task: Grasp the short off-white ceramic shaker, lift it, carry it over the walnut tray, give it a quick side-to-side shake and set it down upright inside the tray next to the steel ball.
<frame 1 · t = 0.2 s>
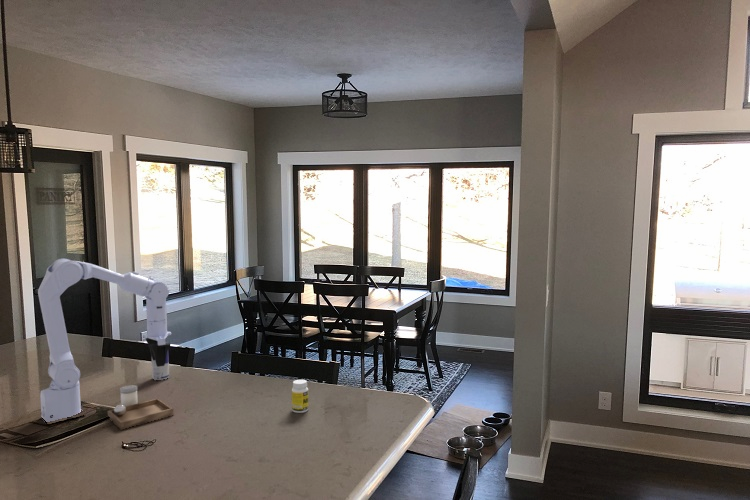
hand: (158, 362, 167), 10 cm above the kitchen island, tool pointing down, fingers open, 7 cm apart
tray: (140, 416, 151), on the kitchen island
shaker: (129, 407, 157), on the kitchen island
energy drink: (161, 378, 183), on the kitchen island
steel ball: (119, 410, 150), point 2 cm above the kitchen island, touching tray
supplement bottle: (300, 410, 155), on the kitchen island
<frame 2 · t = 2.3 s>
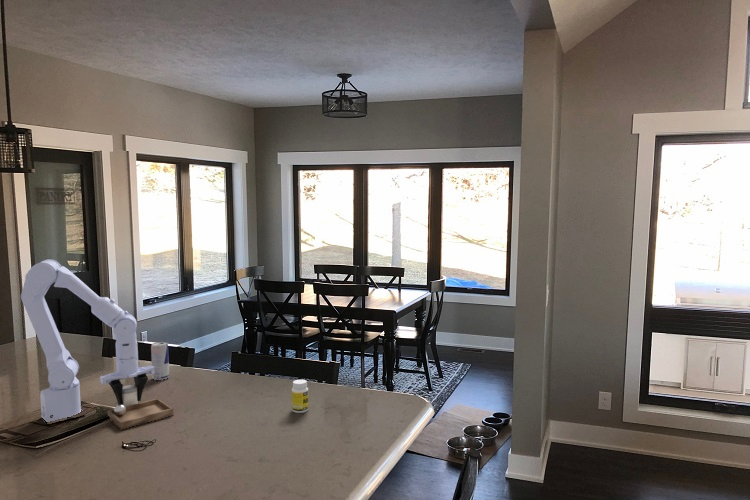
hand: (129, 402, 157), 2 cm above the kitchen island, tool pointing down, fingers closed on shaker, 4 cm apart
shaker: (129, 407, 157), on the kitchen island, touching gripper
everything else where it was.
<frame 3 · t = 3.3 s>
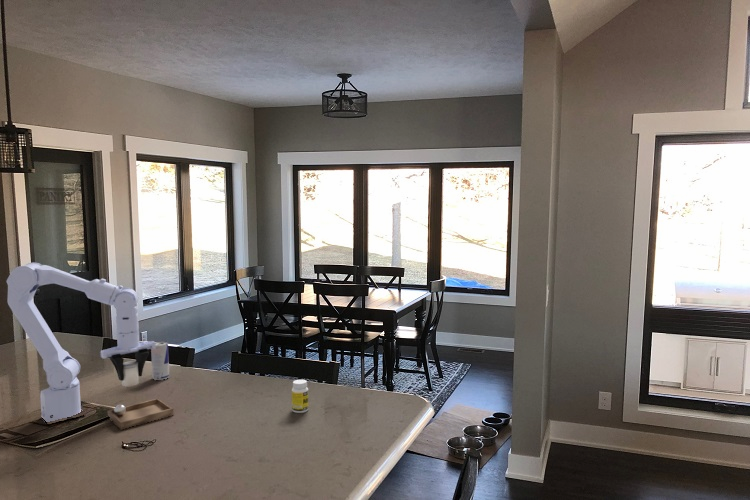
hand: (130, 377, 155), 9 cm above the kitchen island, tool pointing down, fingers closed on shaker, 4 cm apart
shaker: (130, 383, 155), point 8 cm above the kitchen island, touching gripper
everything else where it was.
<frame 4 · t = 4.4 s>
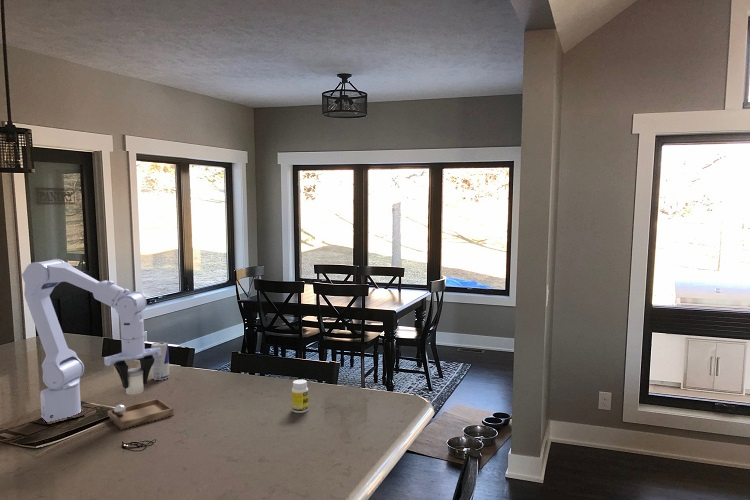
hand: (134, 385, 149), 9 cm above the kitchen island, tool pointing down, fingers closed on shaker, 4 cm apart
shaker: (134, 391, 149), point 7 cm above the kitchen island, touching gripper
everything else where it was.
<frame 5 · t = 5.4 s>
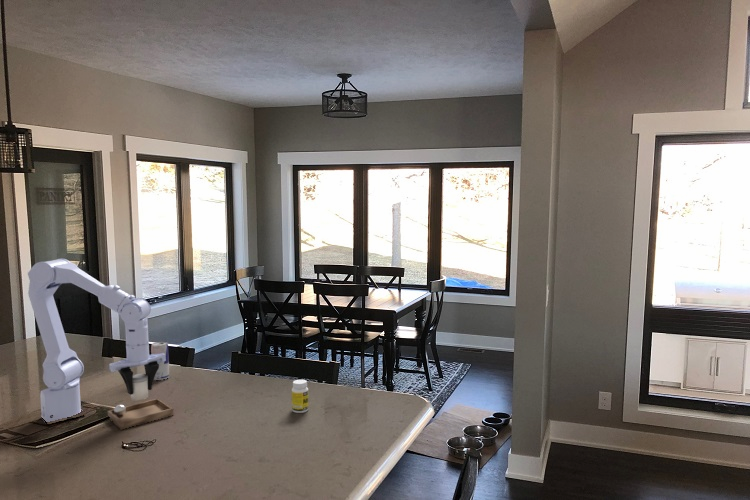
hand: (139, 391, 150), 7 cm above the kitchen island, tool pointing down, fingers closed on shaker, 4 cm apart
shaker: (139, 397, 150), point 5 cm above the kitchen island, touching gripper
everything else where it was.
when the fingers open (4 cm above the kitchen island, at t = 6.5 s): shaker stays where it is, resting on tray.
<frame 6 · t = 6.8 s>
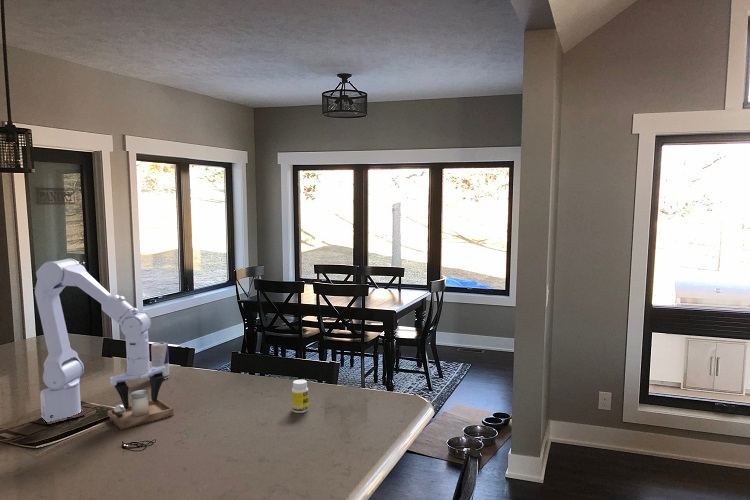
hand: (140, 404, 150), 4 cm above the kitchen island, tool pointing down, fingers open, 7 cm apart
shaker: (140, 413, 151), point 1 cm above the kitchen island, touching tray
everything else where it was.
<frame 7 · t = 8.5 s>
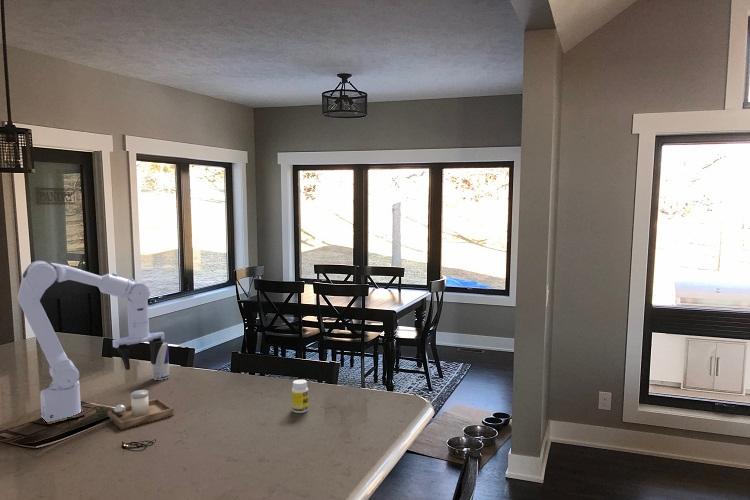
hand: (140, 366, 163), 10 cm above the kitchen island, tool pointing down, fingers open, 7 cm apart
nothing on the kitchen island moved.
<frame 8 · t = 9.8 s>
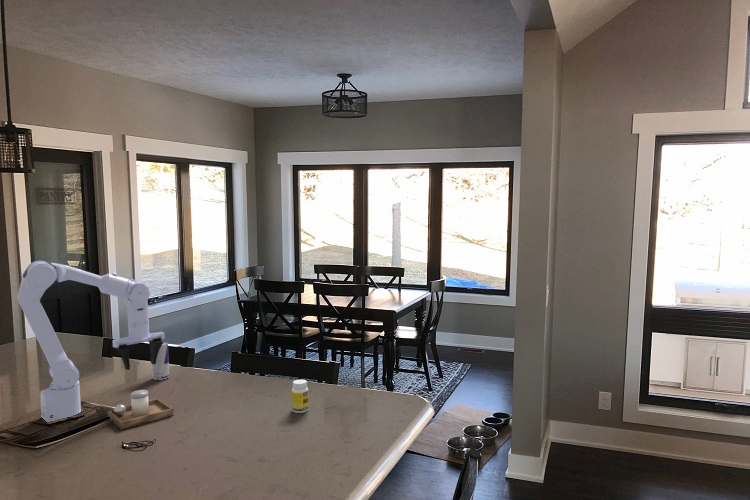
hand: (140, 366, 163), 10 cm above the kitchen island, tool pointing down, fingers open, 7 cm apart
nothing on the kitchen island moved.
at the end: shaker inside the target area on the tray (0.3 cm from its centre), point 0.8 cm above the tray's base; shaker tilted 1°; the gripper is holding nothing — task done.
